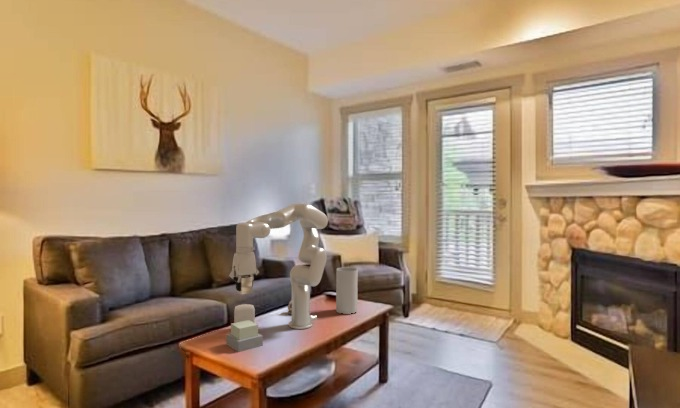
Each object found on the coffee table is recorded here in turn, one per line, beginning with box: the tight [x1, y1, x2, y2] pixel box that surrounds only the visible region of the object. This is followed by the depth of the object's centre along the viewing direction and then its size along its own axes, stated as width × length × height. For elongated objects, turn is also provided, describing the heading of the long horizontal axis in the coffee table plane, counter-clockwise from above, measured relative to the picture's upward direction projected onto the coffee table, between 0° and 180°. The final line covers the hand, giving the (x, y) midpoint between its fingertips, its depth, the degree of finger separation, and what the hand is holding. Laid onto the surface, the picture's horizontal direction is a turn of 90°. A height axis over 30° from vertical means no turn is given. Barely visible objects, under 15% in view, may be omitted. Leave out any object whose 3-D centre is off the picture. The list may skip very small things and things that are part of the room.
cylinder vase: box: [335, 266, 359, 315], centre depth 245 cm, size 12×12×25 cm
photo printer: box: [233, 303, 256, 324], centre depth 213 cm, size 10×4×12 cm, turn 104°
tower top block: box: [230, 320, 259, 340], centre depth 190 cm, size 9×9×5 cm
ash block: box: [236, 275, 253, 295], centre depth 190 cm, size 5×5×7 cm
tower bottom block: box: [226, 333, 264, 353], centre depth 190 cm, size 12×12×5 cm
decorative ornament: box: [287, 299, 292, 315], centre depth 240 cm, size 8×8×15 cm
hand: (244, 289), depth 190 cm, fingers closed on ash block, 5 cm apart
